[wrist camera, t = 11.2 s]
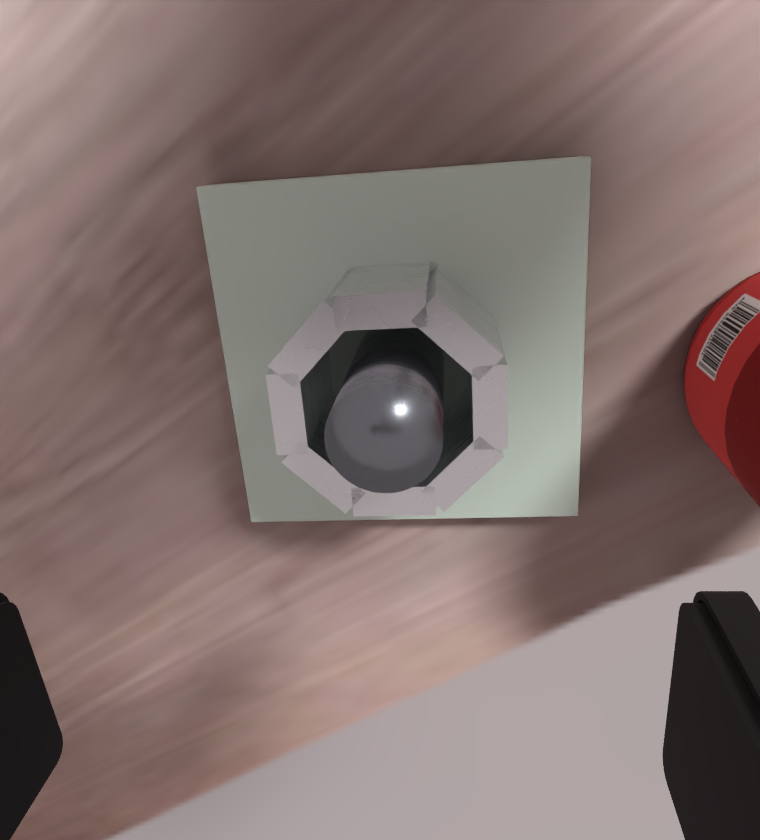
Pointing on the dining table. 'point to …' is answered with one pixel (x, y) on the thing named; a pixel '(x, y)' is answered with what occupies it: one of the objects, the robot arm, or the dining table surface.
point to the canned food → (729, 382)
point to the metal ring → (389, 309)
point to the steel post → (389, 412)
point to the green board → (440, 245)
